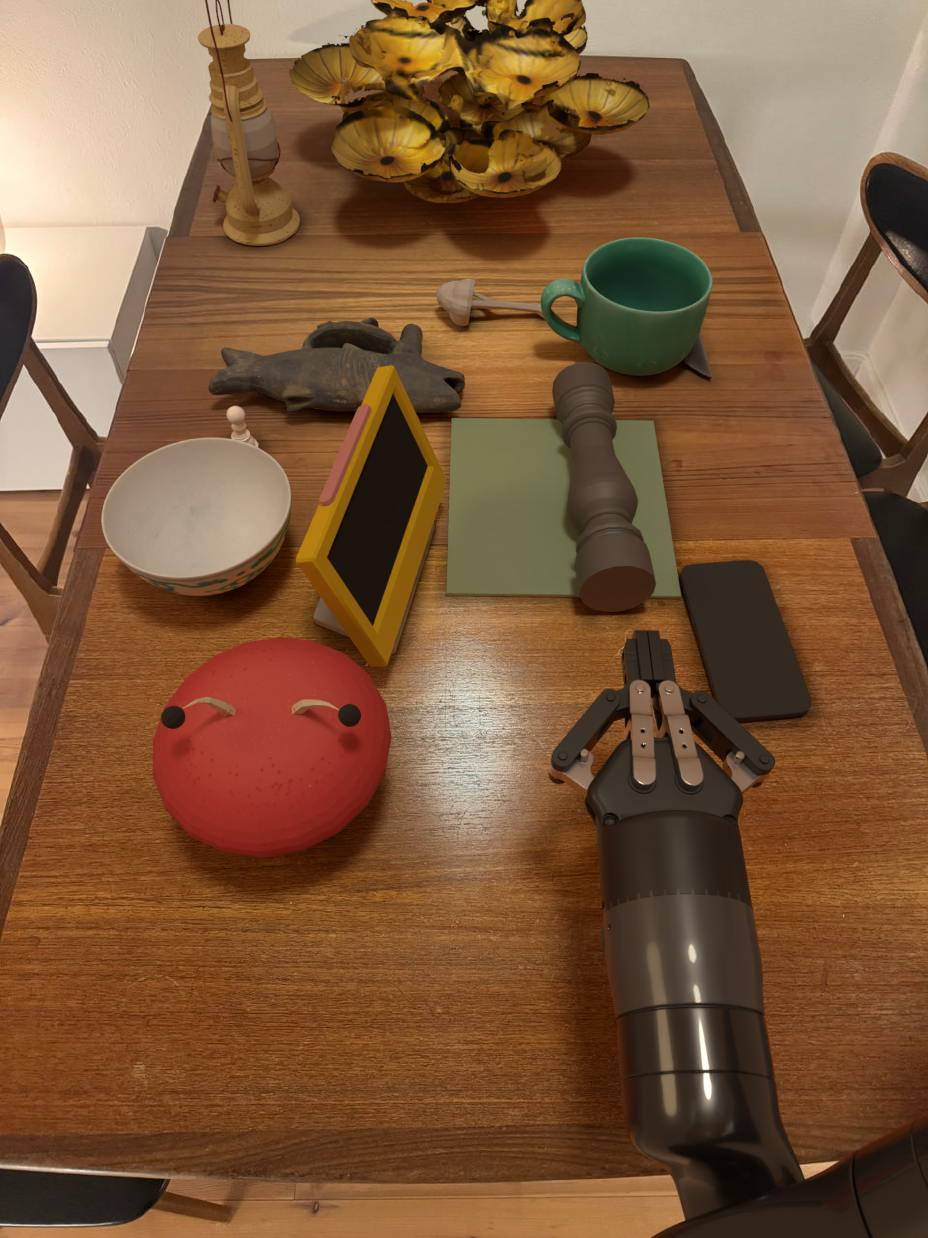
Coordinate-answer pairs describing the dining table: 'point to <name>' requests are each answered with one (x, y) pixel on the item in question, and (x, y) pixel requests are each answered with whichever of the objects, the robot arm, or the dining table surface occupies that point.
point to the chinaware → (199, 515)
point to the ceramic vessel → (341, 370)
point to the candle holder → (600, 495)
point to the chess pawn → (239, 426)
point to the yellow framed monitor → (374, 522)
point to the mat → (539, 508)
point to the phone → (744, 641)
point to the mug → (635, 304)
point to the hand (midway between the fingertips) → (643, 637)
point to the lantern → (245, 141)
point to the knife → (698, 358)
